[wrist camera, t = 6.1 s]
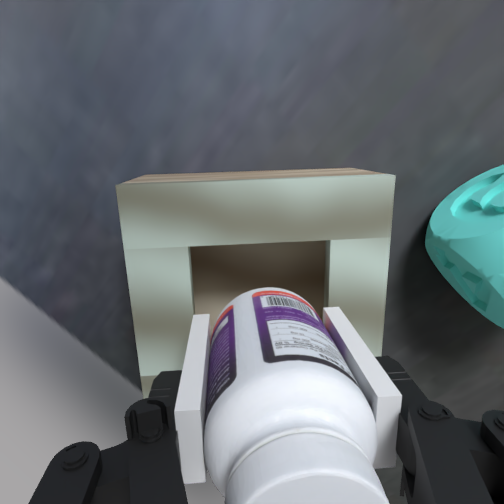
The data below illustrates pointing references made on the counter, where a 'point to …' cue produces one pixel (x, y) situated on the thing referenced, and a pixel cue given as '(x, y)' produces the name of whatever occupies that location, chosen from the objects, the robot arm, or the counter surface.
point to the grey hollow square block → (252, 249)
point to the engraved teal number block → (472, 242)
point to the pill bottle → (285, 409)
